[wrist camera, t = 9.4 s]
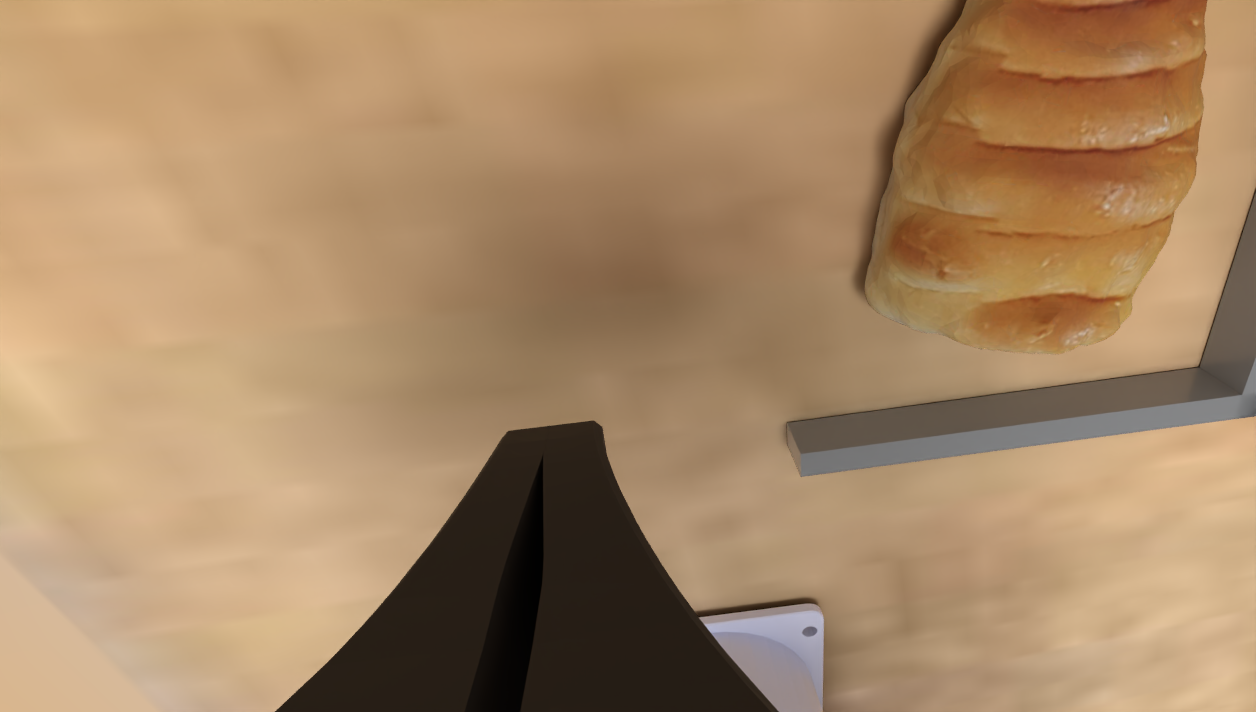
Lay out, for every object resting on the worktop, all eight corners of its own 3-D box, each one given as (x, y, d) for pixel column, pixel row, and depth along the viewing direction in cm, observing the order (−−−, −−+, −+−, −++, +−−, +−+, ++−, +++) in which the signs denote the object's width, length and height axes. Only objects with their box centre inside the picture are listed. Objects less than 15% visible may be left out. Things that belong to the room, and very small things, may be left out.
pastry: (913, -105, 14) (1013, -128, 11) (1226, -103, 15) (1416, -125, 11) (844, 307, 19) (899, 380, 16) (1083, 302, 19) (1188, 372, 16)
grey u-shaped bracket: (1219, 386, 20) (1262, 415, 19) (787, 444, 21) (800, 476, 19) (1438, -254, 13) (1531, -278, 12) (775, -153, 14) (794, -165, 12)
